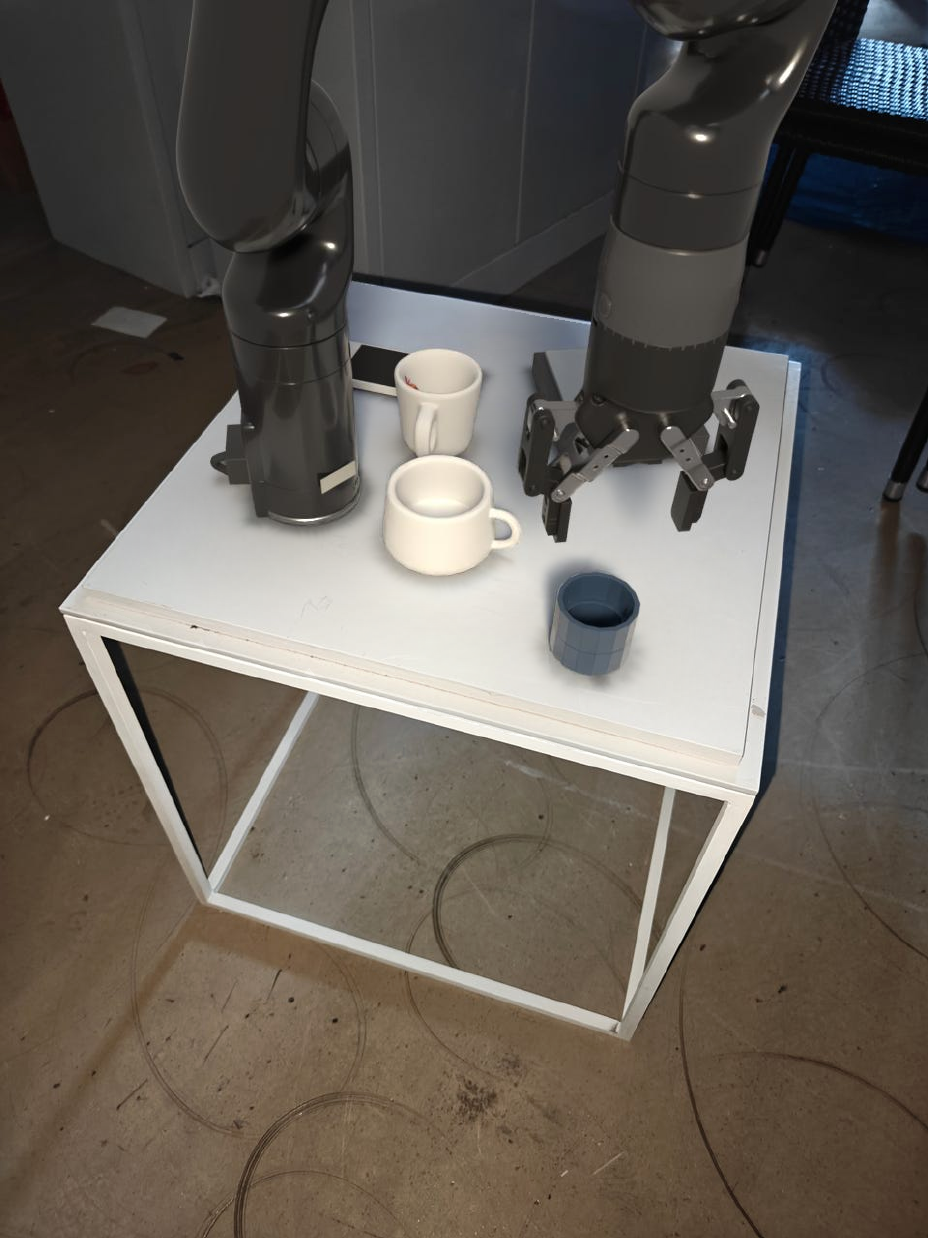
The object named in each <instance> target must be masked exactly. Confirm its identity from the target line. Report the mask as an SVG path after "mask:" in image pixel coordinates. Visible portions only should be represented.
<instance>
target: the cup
mask: <svg viewBox="0 0 928 1238" xmlns="http://www.w3.org/2000/svg"><path fill="white" fill-rule="evenodd" d="M410 353H411V354H409V355H408V356H406V357H404V358H403V359H402V360H401V361H400V362H399V363H398V364H397V366H396V368H395V373H394V377H395V384H396V392H397V396H396V399H397V405H398V412H399V420H400V428H401V432H402V436H403V439H404V442H405V444H406V446H407V447H408V449H410V450H411V451H412V452H413V453H414V454H415V456H416V458H418V457H423V456H429V455H448V456H454V457H457V456H459V455H460V454H461V453H463V452H464V451H466V450H467V448H468V446H469V445H470V443H471V441H472V438H473V435H474V430H475V425H476V419H477V413H478V408H479V401H480V395H481V388H482V384H483V370H482V368H481V366H480V364H479V363H478V362H477V361H476V360H475V359H473V358H472V356H469V355H467V354H465V353H462V352H460V351H457V350H454V349H447V348H427V349H421V350H416V351H414V352H410Z"/></svg>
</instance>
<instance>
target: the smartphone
mask: <svg viewBox="0 0 928 1238" xmlns="http://www.w3.org/2000/svg"><path fill="white" fill-rule="evenodd" d="M350 353H351V367H352V382H353V388H355V389H360V390H364V391H368V392H369V391H370V392H374V393H378V394H384V395H389V396H393V397H397V392H396V384H395V377H394V373H395V368H396V366H397V364H398V363H399V362H400V361H401V360H402V359H403V358H404V357H406V356H408V355H409V354H411V353H412V352H408V351H403V350H399V349H394V348H393V349H392V348H387V347H384V346H377V345H373V344H367V343H363V342H359V341H352V340H350Z"/></svg>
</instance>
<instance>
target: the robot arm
mask: <svg viewBox="0 0 928 1238" xmlns="http://www.w3.org/2000/svg"><path fill="white" fill-rule="evenodd" d="M627 1H628V3H629V4H630V6H631V7H632V9H633V10H634V11H635V13H636V14H637V15H638V17H639V18H640V20H642V21H643V23H645V24H646V25H647V26H648V27H649V28H650V29H651V30H653V32H655V33H657V34H659V35H660V36H662V37H663V38H666V39H669V40H672V41H676V42H682V44H681V46H680V49H679V52H678V55H677V56H676V58H675V60H674V62H673V63H672V65H671V66H670V67H669V69H668V70H667V71H666V72H665V73H664V74H663V75H662V76H661V77H660V78H659V79H657V81H655V82H654V83H653V84H651V85H650V86H648V87H647V89H646V90H644V91H643V92H642V93H641V94H639V96H637V98H636V99H635V100H634V102H633V103H632V104H631V107H630V109H629V111H628V113H627V116H626V120H625V122H624V123H625V124H624V126H623V131H622V136H621V143H620V149H619V154H618V161H617V169H616V174H615V180H614V181H615V183H614V188H613V189H614V190H613V196H612V203H611V208H610V209H611V211H610V216H609V222H608V226H607V231H606V234H605V238H604V241H603V244H602V248H601V252H600V257H599V263H598V268H597V275H596V283H595V289H594V290H595V291H594V297H593V303H592V304H593V305H592V311H591V319H590V326H589V335H588V340H587V341H588V342H587V348H586V349H587V354H586V361H585V369H584V379H583V385H582V388H581V390H580V392H579V393H578V395H577V396H576V397H575V399H574V400H573V401H547V398H546V396H545V395H544V394H542V393H539V392H534V393H532V394H530V395H529V396H528V397H527V399H526V406H525V412H524V417H523V425H522V429H521V436H520V443H519V449H518V456H517V464H516V470H517V473H518V475H519V477H520V480H521V483H522V489H523V493H524V494H525V496H527V497H530V498H535V497H539V495H542V496H543V497H542V498H543V500H542V509H541V515H540V517H541V520H542V523H543V527H544V529H545V530H544V531H545V532H546V534H547V537H550V536H552V538H553V542H554V544H559V543H560V544H561V543H567V539H568V533H569V525H570V521H571V520H570V519H571V512H572V506H573V501H572V498H571V496H572V495H574V493H575V492H576V491H577V490H578V489H580V488H581V487H582V486H583V485H584V483H586V482H588V483H592V482H593V481H595V480H596V479H597V478H598V477H599V476H600V475H601V474H602V473H603V472H604V471H605V470H606V469H607V468H608V467H609V466H610V465H612V468H624V467H625V468H626V467H628V466H632V465H636V464H641V465H649V466H651V465H653V466H654V465H662V464H663V460H666V459H669V458H668V457H670V456H672V455H673V456H674V458H673V459H675V461H676V462H677V464H678V465H679V467H680V468H681V469H682V470H680V471H679V474H678V478H677V482H676V486H675V492H674V495H673V499H672V502H671V506H670V517H671V520H672V522H673V524H674V527H675V529H676V531H677V533H684V532H690V531H691V529H692V526H693V524H697V523H698V522H699V520H700V519H701V517H702V514H703V510H704V507H705V503H706V501H707V497H708V493H709V490H710V489H711V488H712V487H714V485H715V483H716V482H717V481H720V480H724V479H726V480H727V481H731V482H734V481H738V480H739V479H741V478H742V477H743V475H744V473H745V471H746V466H747V462H748V457H749V453H750V450H751V445H752V442H753V441H752V440H753V437H754V433H755V429H756V424H757V420H758V416H759V413H760V409H761V408H760V407H761V406H760V404H759V402H758V401H757V399H756V397H755V396H754V395H753V393H752V391H751V389H750V388H749V386H748V385H747V383H746V382H745V380H744V379H741V378H736V379H733V380H731V381H730V382H729V383H728V384H727V386H726V387H725V389H723V390H714V389H715V386H716V383H717V379H718V375H719V371H720V367H721V363H722V360H723V356H724V352H725V349H726V344H727V341H728V337H729V333H730V330H731V325H732V321H733V318H734V315H735V311H736V309H737V307H738V305H739V301H740V291H741V287H742V283H743V278H744V274H745V267H746V259H747V250H748V243H749V237H750V233H751V229H752V226H753V221H754V218H755V213H756V210H757V206H758V202H759V198H760V194H761V191H762V187H763V182H764V178H765V176H766V171H767V166H768V162H769V161H768V160H769V156H770V150H771V147H772V144H773V141H774V139H775V135H776V133H777V131H778V130H779V128H780V125H781V123H782V121H783V120H784V118H785V116H786V113H787V111H788V110H789V108H790V106H791V104H792V103H793V101H794V98H795V97H796V95H797V93H798V91H799V89H800V86H801V84H802V82H803V80H804V78H805V75H806V74H807V71H808V69H809V66H810V64H811V62H812V61H813V58H814V57H815V53H816V51H817V49H818V47H819V44H820V42H821V41H822V38H823V36H824V33H825V31H826V29H827V27H828V24H829V22H830V19H831V18H832V15H833V13H834V10H835V8H836V6H837V4H838V1H839V0H627ZM329 2H330V0H193V2H192V13H191V21H190V29H189V38H188V46H187V53H186V61H185V69H184V77H183V84H182V92H181V98H180V103H179V104H180V106H179V112H178V121H177V129H176V139H175V164H176V172H177V177H178V181H179V182H178V183H179V186H180V190H181V193H182V196H183V198H184V201H185V203H186V205H187V208H188V210H189V211H190V213H191V215H192V217H193V219H194V220H195V222H196V223H197V224H198V226H199V227H200V228H201V229H202V231H203V232H204V233H205V234H206V235H207V236H208V237H209V238H210V239H211V240H212V241H214V242H215V243H216V244H217V245H219V246H220V247H223V248H224V249H226V250H229V251H231V252H232V255H231V260H230V262H229V265H228V267H227V270H226V272H225V274H224V278H223V281H222V285H221V302H222V309H223V315H224V321H225V325H226V331H227V335H228V336H227V337H228V342H229V347H230V348H229V349H230V353H231V358H232V365H233V370H234V376H235V381H236V388H237V393H238V399H239V404H240V423H235V424H234V423H233V424H232V423H231V424H227V425H226V436H225V437H226V439H225V450H224V451H221V452H218V453H216V454H214V455H212V456H211V457H210V460H209V461H210V462H209V464H210V466H211V467H212V468H213V469H214V470H215V471H217V472H219V473H222V474H224V475H226V476H227V478H228V483H229V485H230V486H231V485H249V484H250V489H251V496H252V500H253V506H254V512H255V517H256V518H270V519H271V520H274V521H276V522H279V523H282V524H285V525H290V526H298V527H311V526H320V525H323V524H328V523H330V522H331V523H332V522H333V521H336V520H338V519H340V518H342V517H343V516H345V515H346V514H348V513H349V512H350V511H352V510H353V508H354V507H355V506H356V505H357V504H358V502H359V500H360V497H361V493H362V487H361V486H362V485H361V478H360V469H359V468H360V467H359V457H358V442H357V429H356V428H357V427H356V412H355V400H354V399H355V398H354V387H353V382H352V367H351V353H350V341H351V340H350V339H351V338H350V324H349V323H350V322H349V307H348V305H349V304H348V299H349V298H348V296H349V291H350V286H351V282H352V278H353V273H354V266H355V216H354V214H355V212H354V209H355V208H354V182H353V181H354V178H353V176H354V175H353V162H352V153H351V148H350V143H349V138H348V134H347V130H346V127H345V124H344V120H343V119H342V117H341V114H340V112H339V110H338V108H337V106H336V104H335V103H334V102H333V100H332V98H331V96H330V95H329V94H328V92H326V90H325V89H324V88H323V87H322V86H321V85H320V84H319V83H318V82H317V81H315V80H314V79H313V78H312V77H313V70H314V69H313V68H314V62H315V57H316V50H317V45H318V40H319V36H320V32H321V28H322V25H323V20H324V18H325V14H326V11H327V8H328V5H329ZM713 390H714V391H713ZM713 414H714V415H715V417H716V419H717V421H718V424H717V425H718V426H717V431H716V435H715V440H714V445H713V450H712V452H708V453H705V455H703V456H702V455H701V454H700V452H699V451H698V449H697V448H696V446H695V445H694V443H693V442H692V440H691V439H690V438H691V437H692V436H693V435H694V434H695V433H696V432H697V431H698V430H699V429H700V428H701V427H702V426H703V425H704V426H705V424H706V423H707V422H709V420H710V419H711V418H712V416H713ZM570 423H576V426H577V427H578V428H577V429H576V430H575V431H574V432H573V433H572V434H571V435H570V436H569V437H568V438H567V440H566V441H565V444H564V448H563V450H562V451H561V452H559V453H558V454H557V455H556V456H555V457H554V458H553V459H552V460H551V461H550V463H549V459H550V454H551V449H552V443H553V442H556V441H558V440H559V439H560V435H561V434H562V432H563V429H564V428H565V427H566V426H567V425H568V424H570ZM589 445H591V446H592V448H593V449H594V451H593V452H592V453H591V454H590V455H589V454H588V447H589ZM223 462H225V464H224V463H223Z"/></svg>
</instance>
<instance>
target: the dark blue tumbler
mask: <svg viewBox="0 0 928 1238" xmlns="http://www.w3.org/2000/svg"><path fill="white" fill-rule="evenodd" d="M640 607H641V601H640V599H639V597H638V594H637V592H636V590H635V589H634V588H633V587H632V586H631V585H630V584H629V583H628V582H627V581H625V580H623V579H621V578H619V577H618V576H615V575H614V574H610V573H606V572H600V571H587V572H580V573H577V574H575V575H573V576H570V577H568V578H567V579H566V580H565V581H564V582H563V583H562V584H561V585H560V586H559V588H558V591H557V595H556V600H555V607H554V612H553V618H552V624H551V625H552V626H551V632H550V637H549V645H550V649H551V653H552V655H553V656H554V658H555V659H556V660H557V661H558V662H559V664H561V665H562V666H563V667H565V668H567V669H568V670H570V671H571V672H573V673H575V674H579V675H583V676H589V677H594V676H595V677H596V676H606V675H608V674H611V673H613V672H614V671H617V670H618V669H620V668H621V667H622V666H623V664H624V663H626V661H627V659H628V656H629V652H630V649H631V645H632V641H633V637H634V634H635V630H636V626H637V621H638V618H639V614H640Z"/></svg>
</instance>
